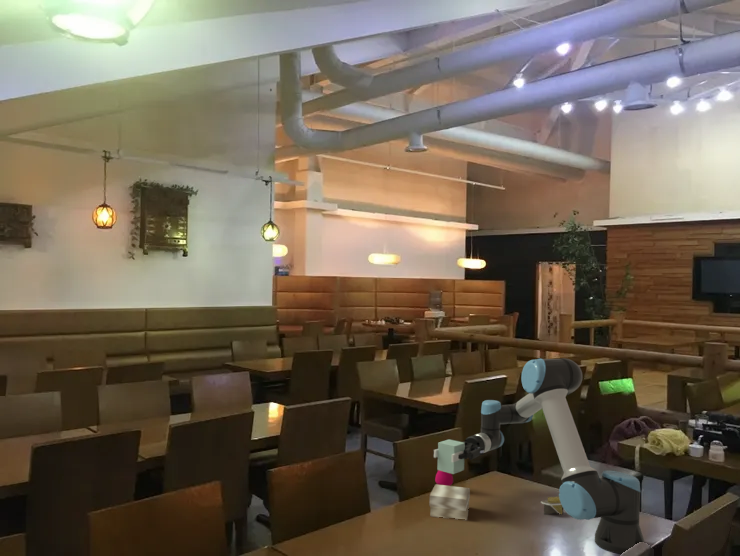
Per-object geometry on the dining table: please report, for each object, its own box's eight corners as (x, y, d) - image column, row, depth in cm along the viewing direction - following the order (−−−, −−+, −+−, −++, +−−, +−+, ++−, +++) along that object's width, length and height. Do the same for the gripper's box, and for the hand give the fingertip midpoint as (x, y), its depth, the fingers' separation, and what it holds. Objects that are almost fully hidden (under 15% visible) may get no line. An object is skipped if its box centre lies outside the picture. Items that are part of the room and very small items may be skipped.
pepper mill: (432, 488, 257) (433, 439, 257) (448, 487, 259) (449, 438, 259) (439, 494, 250) (440, 444, 250) (455, 493, 252) (457, 443, 252)
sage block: (448, 465, 236) (448, 439, 236) (464, 470, 231) (464, 442, 231) (437, 469, 231) (438, 442, 231) (453, 474, 226) (454, 446, 226)
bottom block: (468, 509, 236) (469, 498, 236) (466, 521, 223) (467, 510, 223) (434, 505, 239) (434, 495, 239) (430, 518, 226) (430, 506, 226)
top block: (469, 498, 235) (469, 488, 235) (465, 510, 223) (465, 499, 223) (435, 494, 239) (435, 484, 239) (429, 506, 226) (429, 495, 226)
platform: (585, 520, 228) (586, 501, 228) (540, 523, 223) (541, 504, 223) (567, 508, 239) (568, 491, 239) (524, 511, 235) (525, 493, 235)
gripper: (499, 459, 238) (466, 472, 221) (455, 449, 251) (420, 460, 234) (500, 440, 238) (467, 451, 221) (455, 430, 251) (421, 440, 234)
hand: (443, 456), depth 227 cm, fingers closed on sage block, 7 cm apart
